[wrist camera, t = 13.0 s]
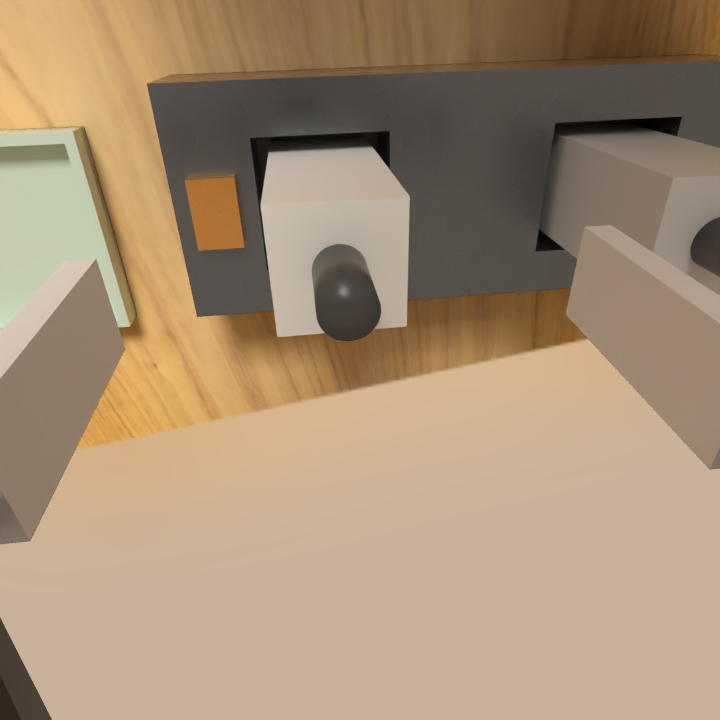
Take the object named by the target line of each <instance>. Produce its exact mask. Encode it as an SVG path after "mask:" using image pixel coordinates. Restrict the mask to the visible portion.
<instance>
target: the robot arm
mask: <svg viewBox="0 0 720 720" xmlns="http://www.w3.org/2000/svg"><path fill="white" fill-rule="evenodd" d="M566 315H567V316H568V318H569V319H570V320H571V321H572V322H573V323H574V324H575V325H576V326H577V327H578V328H579V329H580V330H581V332H582V333H583V334H584V335H585V336H586V337H587V338H588V339H589V340H590V341H591V342H592V343H593V344H594V346H595V347H596V348H597V349H598V350H599V351H600V352H601V353H602V354H603V355H604V356H605V357H606V358H607V359H608V361H609V362H610V363H611V364H612V365H613V366H614V367H615V368H616V369H617V370H618V371H619V372H620V373H621V375H622V376H623V377H624V378H625V379H626V380H627V381H628V382H629V383H630V384H631V385H632V386H633V387H634V389H635V390H636V391H637V392H638V393H639V394H640V395H641V396H642V397H643V398H644V399H645V400H646V402H647V403H648V404H649V405H650V406H651V407H652V408H653V409H654V410H655V411H656V412H657V413H658V414H659V416H660V417H661V418H662V419H663V420H664V421H665V422H666V423H667V424H668V425H669V426H670V427H671V428H672V430H673V431H674V432H675V433H676V434H677V435H678V436H679V437H680V438H681V439H682V440H683V441H684V443H686V445H687V446H688V447H689V448H690V449H691V450H692V451H693V452H694V453H695V454H696V455H697V456H698V458H700V460H701V461H702V462H703V463H704V464H705V465H706V466H707V467H708V468H709V469H718V468H720V296H719V295H718V294H716V293H715V292H713V291H712V290H710V289H709V288H707V287H705V286H704V285H702V284H701V283H699V282H698V281H696V280H695V279H693V278H692V277H690V276H689V275H687V274H685V273H684V272H682V271H681V270H679V269H678V268H676V267H675V266H673V265H672V264H670V263H668V262H667V261H665V260H664V259H662V258H661V257H659V256H658V255H656V254H655V253H653V252H652V251H650V250H648V249H647V248H645V247H644V246H642V245H641V244H639V243H638V242H636V241H635V240H633V239H631V238H630V237H628V236H627V235H625V234H624V233H622V232H621V231H619V230H618V229H616V228H615V227H613V226H611V225H604V226H588V227H584V231H583V236H582V240H581V245H580V250H579V254H578V259H577V264H576V268H575V273H574V278H573V282H572V287H571V292H570V296H569V301H568V306H567V310H566ZM124 350H125V347H124V344H123V341H122V337H121V334H120V331H119V328H118V325H117V322H116V319H115V316H114V312H113V309H112V306H111V303H110V300H109V297H108V294H107V290H106V287H105V284H104V281H103V278H102V275H101V272H100V269H99V265H98V262H97V259H96V258H95V259H80V260H65V261H64V263H63V264H62V265H61V266H60V267H59V268H58V269H57V270H56V271H55V272H54V273H53V275H52V276H51V277H50V278H49V279H48V280H47V281H46V282H45V283H44V284H43V285H42V287H41V288H40V289H39V290H38V291H37V292H36V293H35V294H34V295H33V296H32V297H31V298H30V300H29V301H28V302H27V303H26V304H25V305H24V306H23V307H22V308H21V309H20V310H19V312H18V313H17V314H16V315H15V316H14V317H13V318H12V319H11V320H10V321H9V322H8V324H7V325H6V326H5V327H4V328H3V329H2V330H1V331H0V544H7V543H17V542H27V541H31V539H32V536H33V535H34V532H35V531H36V528H37V527H38V525H39V523H40V520H41V518H42V516H43V514H44V512H45V510H46V508H47V506H48V504H49V502H50V500H51V498H52V496H53V494H54V492H55V490H56V488H57V486H58V484H59V482H60V480H61V478H62V476H63V474H64V472H65V470H66V468H67V466H68V464H69V462H70V460H71V458H72V456H73V454H74V452H75V450H76V448H77V446H78V444H79V441H80V439H81V437H82V435H83V433H84V431H85V429H86V427H87V425H88V423H89V421H90V419H91V417H92V415H93V413H94V411H95V409H96V407H97V405H98V403H99V401H100V399H101V397H102V395H103V393H104V391H105V389H106V387H107V385H108V383H109V381H110V379H111V377H112V375H113V373H114V371H115V369H116V367H117V365H118V362H119V360H120V358H121V356H122V354H123V352H124ZM0 720H52V719H51V717H50V715H49V713H48V711H47V709H46V707H45V705H44V703H43V701H42V699H41V697H40V695H39V693H38V691H37V689H36V687H35V685H34V684H33V681H32V680H31V678H30V676H29V674H28V672H27V670H26V668H25V666H24V664H23V662H22V660H21V658H20V656H19V654H18V652H17V650H16V648H15V646H14V644H13V642H12V640H11V638H10V636H9V634H8V632H7V630H6V628H5V626H4V624H3V622H2V620H1V618H0Z"/></svg>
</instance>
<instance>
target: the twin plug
mask: <svg viewBox="0 0 720 720" xmlns="http://www.w3.org/2000/svg"><path fill="white" fill-rule="evenodd" d="M604 225H611V226H613V227H615V228H616V229H618V230H619V231H621V232H622V233H624V234H625V235H627V236H628V237H630V238H631V239H633V240H635V241H636V242H638V243H639V244H641V245H642V246H644V247H645V248H647V249H648V250H650V251H652V252H653V253H655V254H656V255H658V256H659V257H661V258H662V259H664V260H665V261H667V262H668V263H670V264H672V265H673V266H675V267H676V268H678V269H679V270H681V271H682V272H684V273H685V274H687V275H689V276H690V277H692V278H693V279H695V280H696V281H698V282H699V283H701V284H702V285H704V286H705V287H707V288H709V289H710V290H712V291H713V292H715V293H716V294H718V295H719V296H720V148H718V147H714V146H711V145H707V144H703V143H699V142H696V141H692V140H688V139H684V138H681V137H677V136H673V135H669V134H665V133H662V132H658V131H654V130H650V129H647V128H643V127H639V126H635V125H632V124H628V123H624V122H610V123H590V124H570V125H555V129H554V135H553V141H552V148H551V154H550V161H549V167H548V173H547V180H546V186H545V193H544V199H543V205H542V212H541V218H540V225H539V230H541V231H542V232H543V233H544V234H546V235H547V236H548V237H550V238H551V239H552V240H553V241H555V242H556V243H557V244H559V245H560V246H561V247H562V248H564V249H565V250H566V251H568V252H569V253H570V254H571V255H573V256H574V257H575V258H577V259H578V254H579V250H580V245H581V240H582V236H583V231H584V227H588V226H604Z"/></svg>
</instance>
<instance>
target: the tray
mask: <svg viewBox="0 0 720 720" xmlns="http://www.w3.org/2000/svg"><path fill="white" fill-rule="evenodd" d="M95 258H96V259H97V262H98V265H99V269H100V272H101V275H102V278H103V281H104V284H105V287H106V290H107V294H108V297H109V300H110V303H111V306H112V309H113V312H114V316H115V319H116V322H117V325H118V328H119V327H130V326H131V324H132V322H133V320H134V319H135V317H136V315H137V313H136V310H135V306H134V303H133V299H132V296H131V292H130V289H129V285H128V282H127V278H126V275H125V271H124V268H123V264H122V261H121V257H120V253H119V250H118V246H117V243H116V239H115V236H114V232H113V229H112V225H111V222H110V218H109V215H108V211H107V208H106V204H105V201H104V197H103V194H102V190H101V186H100V183H99V179H98V176H97V172H96V169H95V165H94V162H93V158H92V155H91V151H90V148H89V144H88V141H87V137H86V134H85V130H84V127H83V126H80V127H59V128H37V129H15V130H0V331H1V330H2V329H3V328H4V327H5V326H6V325H7V324H8V322H9V321H10V320H11V319H12V318H13V317H14V316H15V315H16V314H17V313H18V312H19V310H20V309H21V308H22V307H23V306H24V305H25V304H26V303H27V302H28V301H29V300H30V298H31V297H32V296H33V295H34V294H35V293H36V292H37V291H38V290H39V289H40V288H41V287H42V285H43V284H44V283H45V282H46V281H47V280H48V279H49V278H50V277H51V276H52V275H53V273H54V272H55V271H56V270H57V269H58V268H59V267H60V266H61V265H62V264H63V263H64V261H65V260H80V259H95Z"/></svg>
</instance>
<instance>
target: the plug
mask: <svg viewBox="0 0 720 720" xmlns="http://www.w3.org/2000/svg"><path fill="white" fill-rule="evenodd" d="M409 206H410V196H409V195H408V193H407V192H406V191H405V189H404V188H403V187H402V185H401V184H400V183H399V181H398V180H397V179H396V177H395V176H394V175H393V173H392V172H391V171H390V169H389V168H388V167H387V165H386V164H385V163H384V161H383V160H382V159H381V157H380V156H379V155H378V154H377V152H376V151H375V150H374V148H373V147H372V146H371V144H370V143H369V142H368V140H367V139H366V138H365V136H361V137H341V138H321V139H301V140H281V141H270V146H269V153H268V159H267V166H266V172H265V179H264V186H263V192H262V199H261V213H262V221H263V229H264V237H265V245H266V252H267V260H268V268H269V276H270V284H271V291H272V299H273V307H274V315H275V323H276V331H277V337H286V336H298V335H310V334H322V333H326V334H327V335H329V336H330V337H332V338H334V339H337V340H341V341H353V340H357V339H360V338H363V337H365V336H366V335H368V334H369V333H370V332H371V331H373V329H384V328H396V327H407V295H408V250H409Z"/></svg>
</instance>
